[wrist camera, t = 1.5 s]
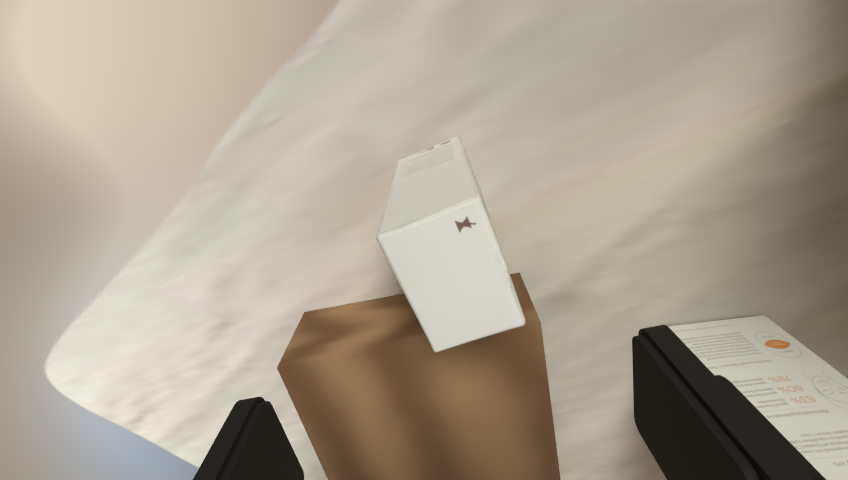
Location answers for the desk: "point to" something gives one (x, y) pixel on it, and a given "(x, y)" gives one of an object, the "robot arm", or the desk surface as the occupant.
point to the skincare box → (447, 249)
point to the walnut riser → (421, 396)
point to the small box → (780, 384)
